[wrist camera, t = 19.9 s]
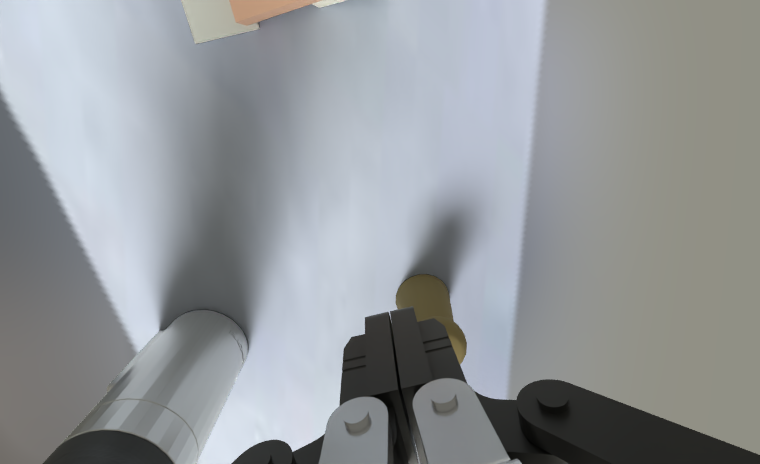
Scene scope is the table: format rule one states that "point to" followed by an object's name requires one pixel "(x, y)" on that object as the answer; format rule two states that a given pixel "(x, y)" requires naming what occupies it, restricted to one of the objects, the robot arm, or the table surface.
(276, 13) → the domino
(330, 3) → the domino
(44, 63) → the table surface
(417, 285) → the cork
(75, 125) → the table surface
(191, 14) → the block
